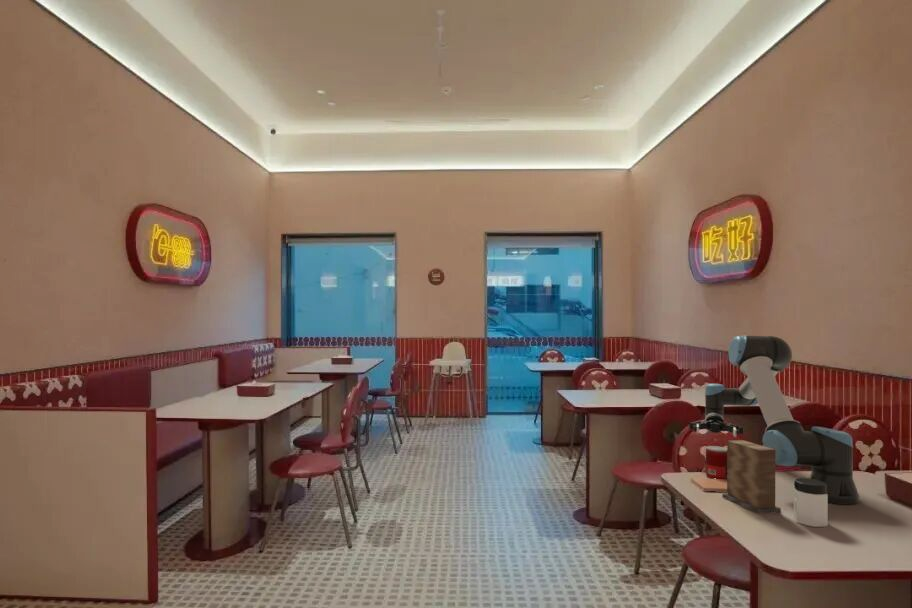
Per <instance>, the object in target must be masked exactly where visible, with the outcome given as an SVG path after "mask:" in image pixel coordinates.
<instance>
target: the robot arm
mask: <svg viewBox="0 0 912 608" xmlns="http://www.w3.org/2000/svg"><path fill="white" fill-rule="evenodd" d="M792 359H793V351H792V348H791V347H790V345H789V344H788V343H787V341H785V340H784V339H782V338H781V337H778V336H773V335H736V336H734V337H733V338H732V339H731V341H730V344H729V346H728V361H729V362H730V364H731V365H733V366H738V368H739V370H740V372H741V374H744V375H746V376H747V378H746V379H745V380H744V381H743V382H742V383H741V385H740V386H739V387H738V388H725V385H724V384H720V383H707V384H706V385H705V391H704V397H705V400H704V402H705V405H704V406H705V407H704V408H705V409H704V422H702V420H700V419H699V420H696V421H692V422H691V421H690V422H688V429H689V430H693V432H696V434H697V435H698V434H700V430H706V431H709V432H711V433H714V434H718V433H721V432H729V433H732V434H733V437H734V438H737V435H744V427H742V426H740V425H738V424H737V425H736V424H734V423H733V422H729V423H728V424H727V423H726V422H725V420H724V408H725V406H731V407H733V406H737V407H738V406H739V407H752V406H757V405H758V407H759V408H760V411H761V414H762V416H763V419H764V421H765V423H766V427H765V430H764V434H763V436H762V439H761V440H762V446H765V447H768V448H772V449H775V465H776V466H777V465H778V466H785V467H811V473H810V475H809V477H808V478H809V479H815V480H819V481H822V482H825V483H826V484H827V495H828V503H831V504H837V505H856V504H859V503H860V494H859V491H858V488H857V487H856V482H855V480H854V477H853V476H854V475H853V473H854V472H853V470H854V466H853V465H854V463H853V462H854V460H853V459H854V458H853V457H854V454H853V453H854V449H853V448H854V444H853V437H852V435H851V434H849V433H847V432H845V431H842V430H838V429H834V428H827V427H823V426H812V427H811V430H810V431H809V430H806V431H805V430H804V428H803V425H802V424H801V422H800V421H798V420H795V419H794V418H793V415H792V413H791V411H790V408H789V406H788V404H787V402H786V400H785V397H784V395H783V392H782V390H781V389H780V386H779V384H778V382H777V379H776V375H778V373H780V372H784V371H785V370H786V369H787V368H788V367H789V366H790V364H791V362H792Z"/></svg>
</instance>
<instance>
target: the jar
mask: <svg viewBox="0 0 912 608" xmlns="http://www.w3.org/2000/svg"><path fill="white" fill-rule="evenodd" d="M793 485H794V486H793V518H794V520H795V522H796V523H797V524H800V525H805V526H808V527H813V528H825V527H828V524H829V523H828V511H829V510H828V509H829V505H828V503H829V502H828V495H827V484H826V483H825V482H822V481H819V480H815V479H809V477H797V478H795V479H794V483H793Z"/></svg>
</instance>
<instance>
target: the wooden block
mask: <svg viewBox="0 0 912 608" xmlns="http://www.w3.org/2000/svg"><path fill="white" fill-rule="evenodd" d="M726 441H727V443H726V444H727V445H726V448H727V479H726V481H727V492H725V493H722V498H723V497H724V499H725V498H726V499H725V500H727V499H728V501H730V502H732V503H734V502H735V503H734V504H736V503H737V505H739V506H741V507H743V508H746V509H748V510H750V511H753V512H755V513H757V514H759V513H760V514H772V513H781V507H779V506H777V505H776V464H775V449H772V448H768V447H765V446H763V445H761V444H757V443H754V442H750V441H747V440H744V439H738V440H736V439H733V440H726Z"/></svg>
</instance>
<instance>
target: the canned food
mask: <svg viewBox="0 0 912 608" xmlns="http://www.w3.org/2000/svg"><path fill="white" fill-rule="evenodd" d="M705 475H706V477H707V476H708V478H709V477H710V478H709V479H713V478H716V479H725V480H727V447H724V446H719V445H718V446H717V445H708V446H705Z"/></svg>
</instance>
